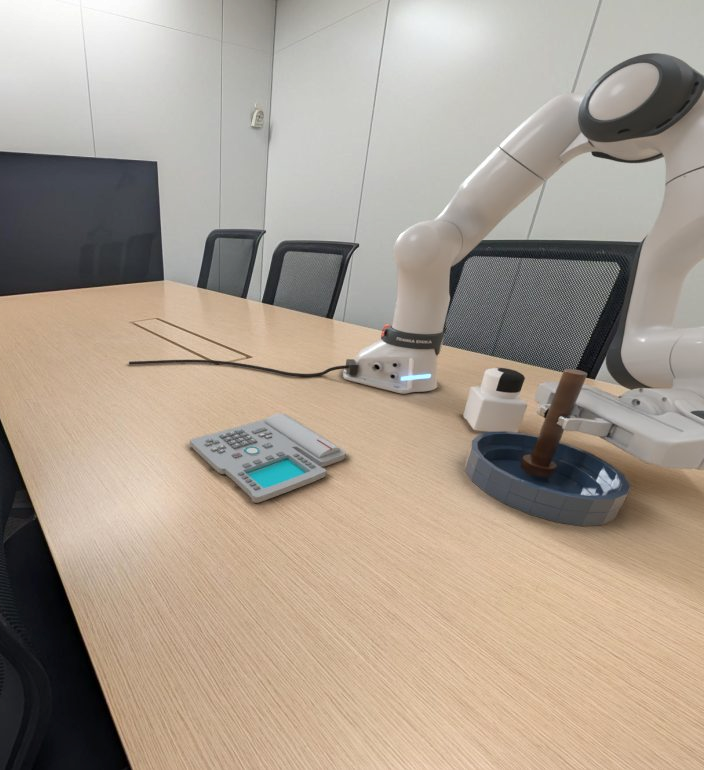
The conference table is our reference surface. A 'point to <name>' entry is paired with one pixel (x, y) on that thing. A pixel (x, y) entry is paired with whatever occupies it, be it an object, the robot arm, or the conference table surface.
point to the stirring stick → (554, 425)
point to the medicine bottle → (496, 402)
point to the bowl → (547, 480)
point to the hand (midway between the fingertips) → (551, 417)
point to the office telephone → (268, 455)
